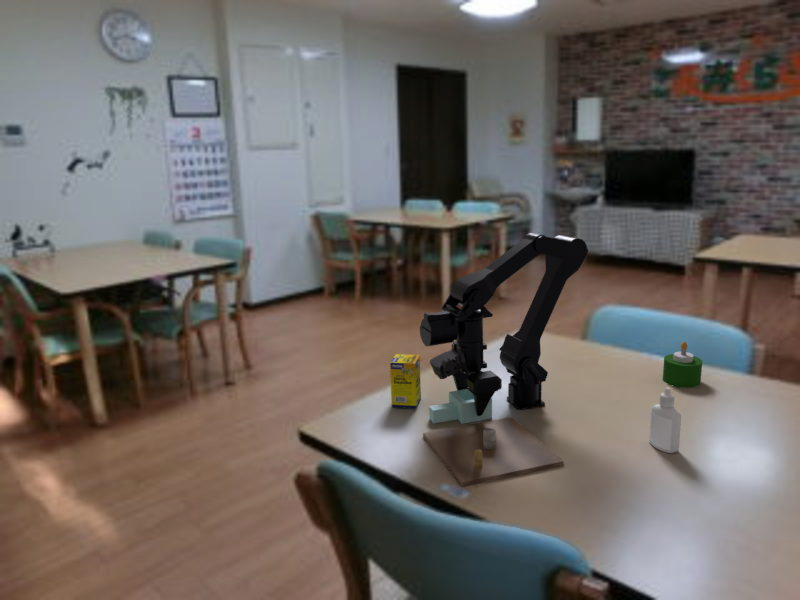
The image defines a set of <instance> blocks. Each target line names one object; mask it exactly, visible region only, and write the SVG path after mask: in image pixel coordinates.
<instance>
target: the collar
mask: <svg viewBox="0 0 800 600" xmlns="http://www.w3.org/2000/svg"><path fill="white" fill-rule="evenodd" d="M492 398H493V397H492ZM492 398H491V399H490V401H489V403H488V405H487V407H486V409H485V411H484V412H483V414H482V416H477V414H476V409H475V402H474V396H473V394H472V393H471V392H470V391H469V390H468V389H463V390H457V389H456V390H452V391H448V402H447V403H440V404H434V405H429V408H428V409H429V411H428V412H429V413H428V414H429V420H430V422H431V423H432V424H438V423H439V424H440V423H444V422H451V421H456V420H458V421H459V423H461V424H462V425H463V424H468V423H473V422H478V421H484V420H490V419H493V399H492Z"/></svg>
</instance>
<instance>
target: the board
mask: <svg viewBox="0 0 800 600" xmlns="http://www.w3.org/2000/svg"><path fill="white" fill-rule="evenodd" d="M422 436H423V438H424V440H425V441H426V442H427V444H428V445H429V446H430V447H431V449H432V450H433V451H434V453H435V454H436V456H438V458H439V459H440V460H441V462H442V463H443V464H444V466H445V467H446V468H447V469H448V471H449V472H450V473H451V474H452V476H453V477H454V479H455V480H456V481H457V483H459V485H460V486H461V487H467V486H470V485H471V484H472V485H476V483H477V484H481V483H486V482H490V481H494V480H500V479H505V478H510V477H514V476H518V475H519V476H520V475H523V474H528V473H533V472H537V471H542V470H546V469H551V468H556V467H560V466H562V467H563V466H564V465H565V462H564V460H563V459H562V458H560V456H559V455H557V454H556V452H554V451H552V450H551V448H549V447H548V446H547V445H546V444H544V443H543V442H542V441H541V440H540V439H539V438H538V437H536V436H535V435H534V434H533V433H531V432H530V430H528V428H526V427H525V426H524V425H522V424H521V423H520V422H519V421H518V420H516V418H514V417H513V416H510V417H504V418H498V419H494V420H488V421H483V422H482V421H481V422H478V423H476V422H475V423H472V424H465V425H461V426H459V425H458V426H455V427H449V428H444V429H443V428H442V429H439V430H432V431H427V432H423V434H422ZM472 485H471V486H472Z"/></svg>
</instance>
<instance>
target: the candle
mask: <svg viewBox="0 0 800 600" xmlns="http://www.w3.org/2000/svg"><path fill="white" fill-rule="evenodd" d="M687 350H688V343H687V341H682V343H681V344H680V351H676V352H673V353H671V354H666V355H665V356H663V357H664V358H663V366H662V367H663V368H662V369H663V370H662V382H663V383H665V382H666V383H668V384H667V385H669V384H670V385H669V386H671V385H673V386H672V387H675V386H676V388H681V387H682V388H683V389H691V388H692V387H693V388H697V387H699V386H701V380H702V368H703V360H702V359H701V358H700V357H698V356H694V353H691V352H688V351H687ZM666 383H665V384H666ZM684 387H685V388H684Z"/></svg>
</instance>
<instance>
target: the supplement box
mask: <svg viewBox="0 0 800 600" xmlns="http://www.w3.org/2000/svg"><path fill="white" fill-rule="evenodd" d="M420 358H421V355H420V354H405V353H404V354H403V353H396V354H394V356H393V358H392V360H390V362H389V371H390V372H389V373H390V397H391V408H393V409H395V408H396V409H413V410H414V409H417V408H418V406H419V403H420V401H421V400H422V387H421V386H422V385H421V384H422V383H421V359H420Z"/></svg>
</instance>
